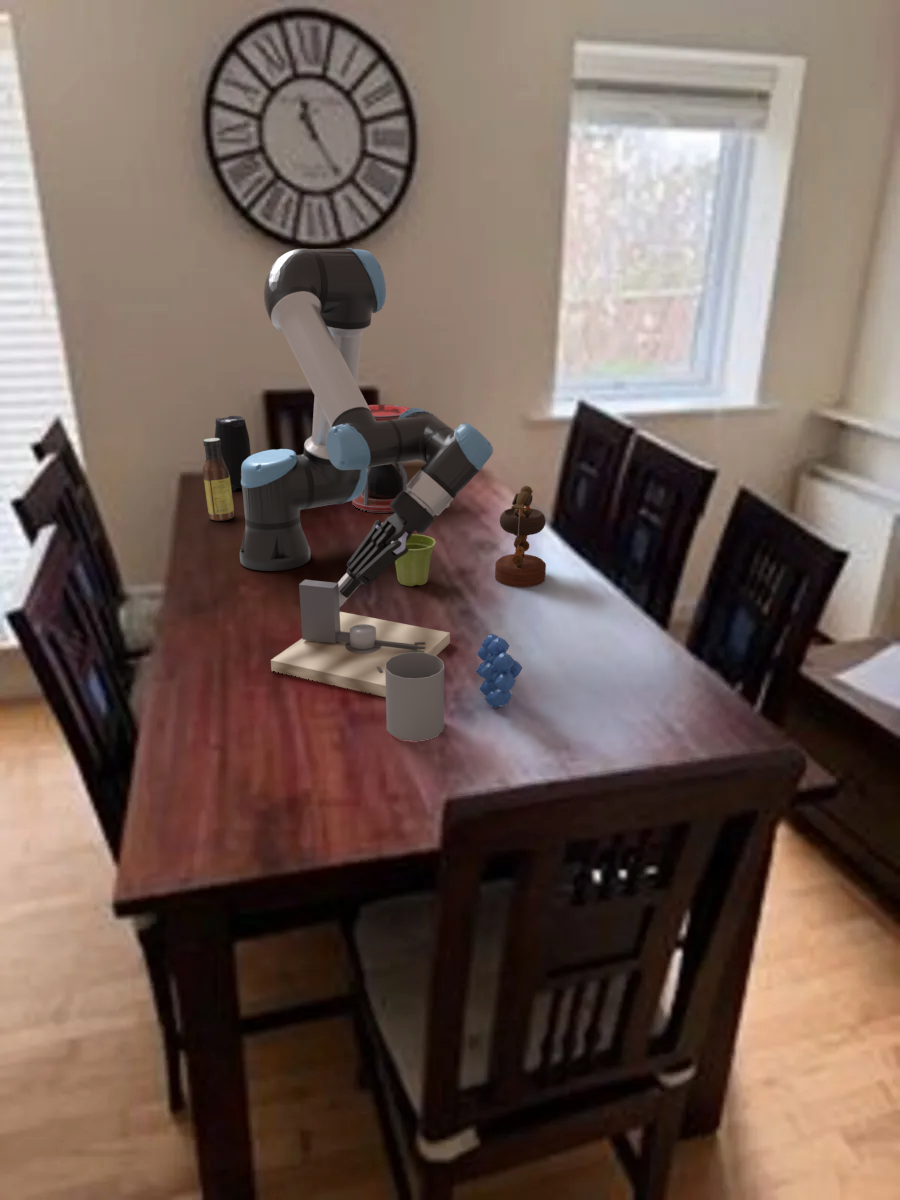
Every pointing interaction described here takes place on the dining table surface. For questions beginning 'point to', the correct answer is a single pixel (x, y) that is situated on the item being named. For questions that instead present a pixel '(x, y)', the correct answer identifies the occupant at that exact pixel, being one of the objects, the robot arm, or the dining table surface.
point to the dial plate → (356, 655)
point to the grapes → (497, 671)
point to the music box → (521, 543)
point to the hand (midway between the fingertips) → (328, 606)
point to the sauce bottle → (217, 482)
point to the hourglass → (382, 472)
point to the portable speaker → (233, 446)
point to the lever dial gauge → (334, 619)
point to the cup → (414, 696)
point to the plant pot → (415, 561)
